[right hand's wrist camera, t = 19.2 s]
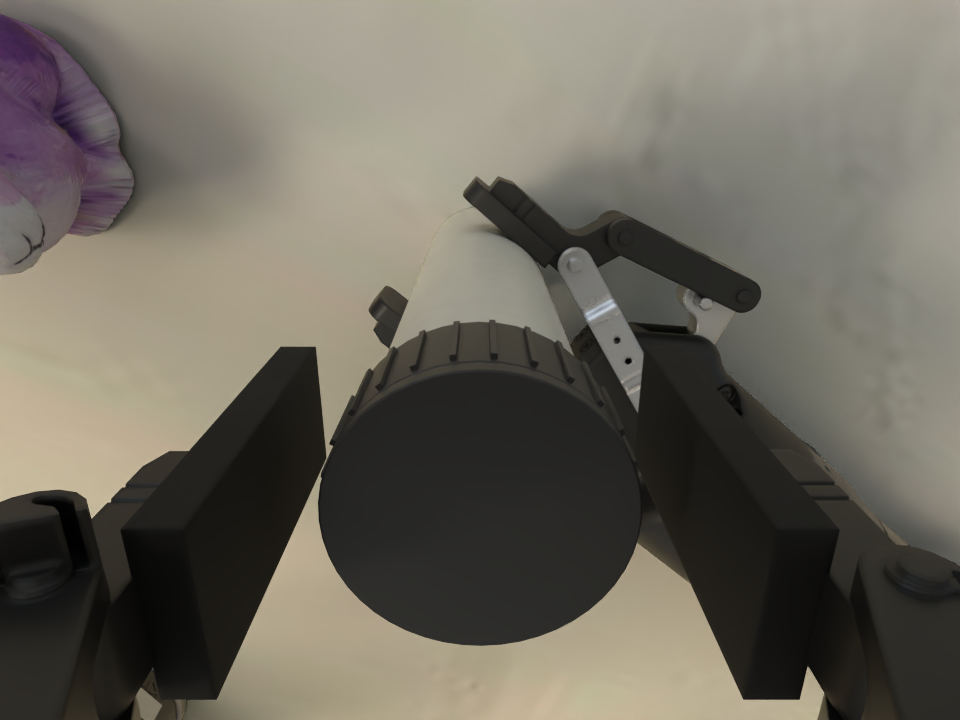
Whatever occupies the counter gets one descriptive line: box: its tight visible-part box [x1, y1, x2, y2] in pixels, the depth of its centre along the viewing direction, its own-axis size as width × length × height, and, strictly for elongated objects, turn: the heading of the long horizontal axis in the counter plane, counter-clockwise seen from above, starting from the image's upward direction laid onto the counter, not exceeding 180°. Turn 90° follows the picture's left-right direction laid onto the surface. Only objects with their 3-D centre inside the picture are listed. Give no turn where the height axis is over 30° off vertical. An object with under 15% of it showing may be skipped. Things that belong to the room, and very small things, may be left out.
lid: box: [318, 320, 642, 646], centre depth 11 cm, size 5×5×2 cm
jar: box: [387, 207, 574, 356], centre depth 20 cm, size 5×5×20 cm
